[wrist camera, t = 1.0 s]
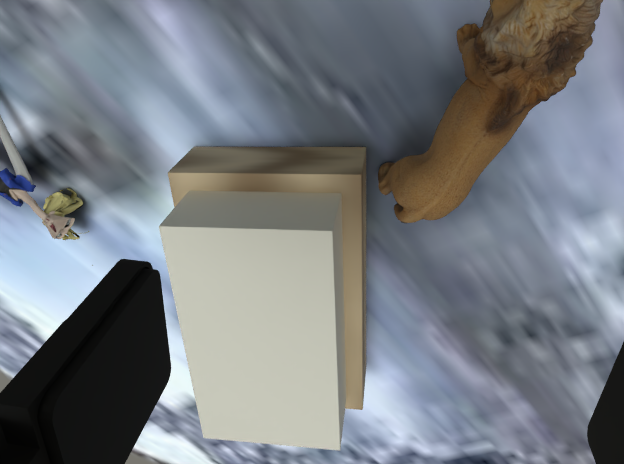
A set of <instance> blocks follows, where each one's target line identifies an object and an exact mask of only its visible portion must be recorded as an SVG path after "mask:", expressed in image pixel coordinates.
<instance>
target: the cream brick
mask: <svg viewBox="0 0 624 464" xmlns="http://www.w3.org/2000/svg"><path fill="white" fill-rule="evenodd" d="M159 229H160V234H161V239H162V243H163V248H164V253H165V258H166V262H167V267H168V272H169V276H170V281H171V286H172V291H173V295H174V300H175V305H176V310H177V314H178V319H179V324H180V328H181V333H182V338H183V343H184V347H185V352H186V357H187V361H188V366H189V371H190V376H191V380H192V385H193V390H194V395H195V399H196V404H197V409H198V413H199V418H200V423H201V428H202V432H203V437H204V438H209V439H220V440H231V441H242V442H253V443H264V444H275V445H286V446H297V447H308V448H319V449H330V450H340V447H341V438H342V430H343V422H344V414H345V405H346V357H345V316H344V276H343V235H342V195H341V193H307V192H245V191H189V192H188V193H187V194H186V195H185V196H184V197H183V199H182V200H181V201H180V202H179V203H178V204H177V206H176V207H175V208H174V209H173V210H172V211H171V213H170V214H169V215H168V216H167V217H166V219H165V220H164V221H163V222H162V223H161V224H160V226H159Z"/></svg>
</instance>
